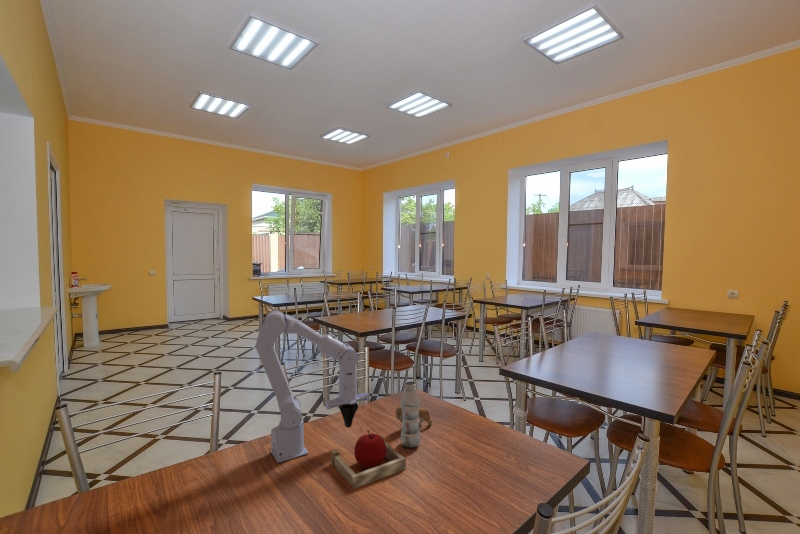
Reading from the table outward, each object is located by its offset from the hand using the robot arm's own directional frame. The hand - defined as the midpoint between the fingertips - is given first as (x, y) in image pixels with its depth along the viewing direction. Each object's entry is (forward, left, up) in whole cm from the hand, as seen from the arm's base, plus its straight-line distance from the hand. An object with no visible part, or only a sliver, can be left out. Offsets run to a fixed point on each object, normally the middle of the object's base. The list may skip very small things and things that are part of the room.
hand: (348, 426), depth 122 cm
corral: (-1, -15, -6) cm, 16 cm away
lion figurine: (+23, -4, -6) cm, 24 cm away
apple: (0, -15, -6) cm, 16 cm away
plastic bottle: (+16, -12, -6) cm, 21 cm away
